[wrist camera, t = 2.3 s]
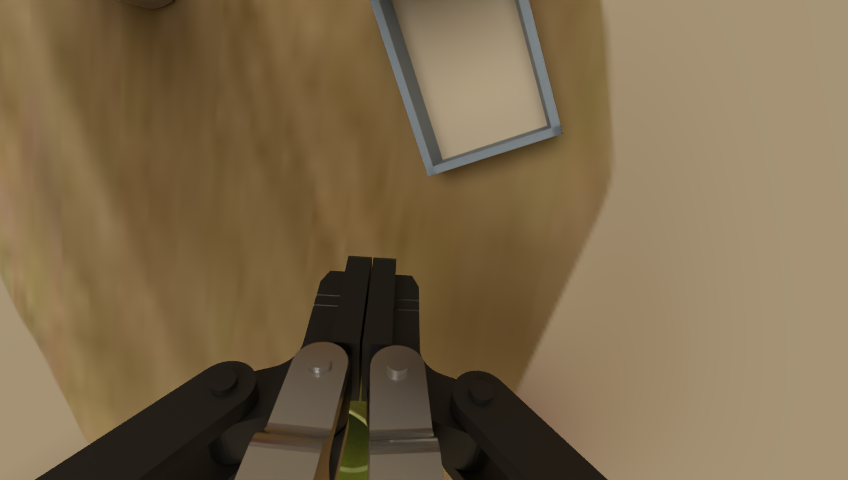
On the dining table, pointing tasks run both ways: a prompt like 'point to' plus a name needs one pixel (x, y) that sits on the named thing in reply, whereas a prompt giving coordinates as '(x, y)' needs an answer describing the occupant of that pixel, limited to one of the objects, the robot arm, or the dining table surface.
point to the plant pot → (355, 444)
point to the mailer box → (468, 77)
